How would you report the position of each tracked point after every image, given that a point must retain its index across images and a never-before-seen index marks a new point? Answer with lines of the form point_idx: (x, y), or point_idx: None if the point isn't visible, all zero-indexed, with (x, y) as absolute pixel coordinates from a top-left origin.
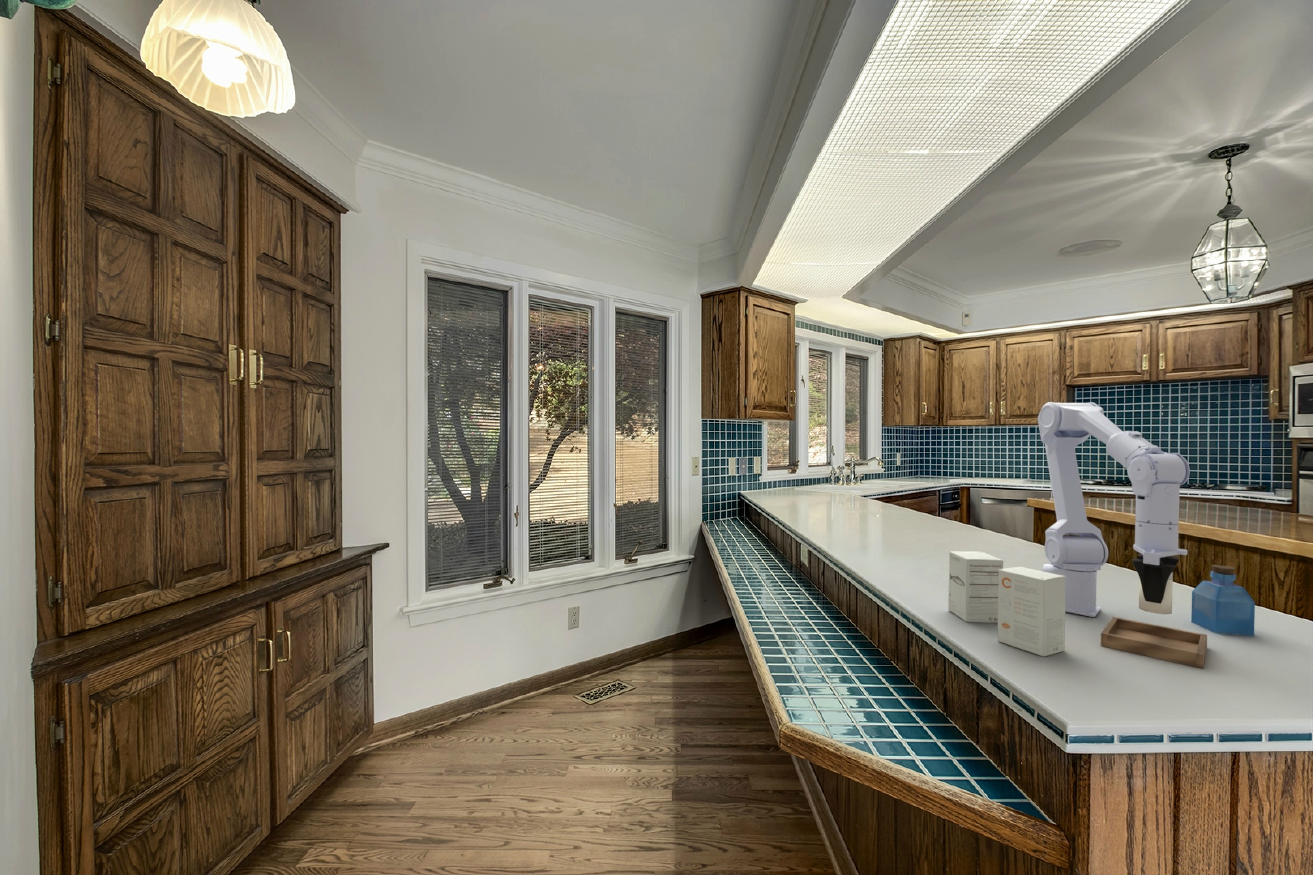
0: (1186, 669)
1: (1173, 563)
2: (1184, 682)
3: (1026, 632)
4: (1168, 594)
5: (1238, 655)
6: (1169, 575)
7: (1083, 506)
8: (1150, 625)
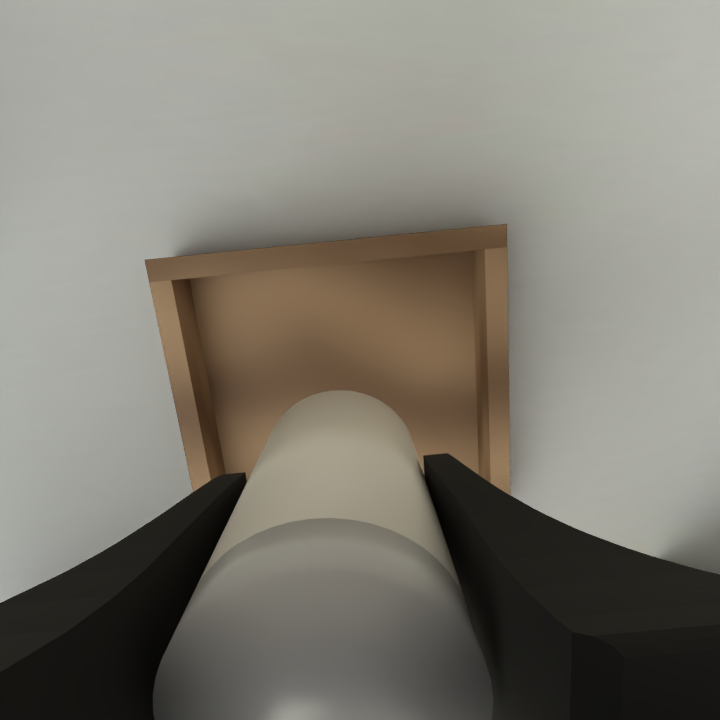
0: (544, 268)
1: (20, 701)
2: (704, 249)
3: None
4: (390, 453)
5: (176, 155)
6: (666, 561)
7: None
8: (206, 448)
